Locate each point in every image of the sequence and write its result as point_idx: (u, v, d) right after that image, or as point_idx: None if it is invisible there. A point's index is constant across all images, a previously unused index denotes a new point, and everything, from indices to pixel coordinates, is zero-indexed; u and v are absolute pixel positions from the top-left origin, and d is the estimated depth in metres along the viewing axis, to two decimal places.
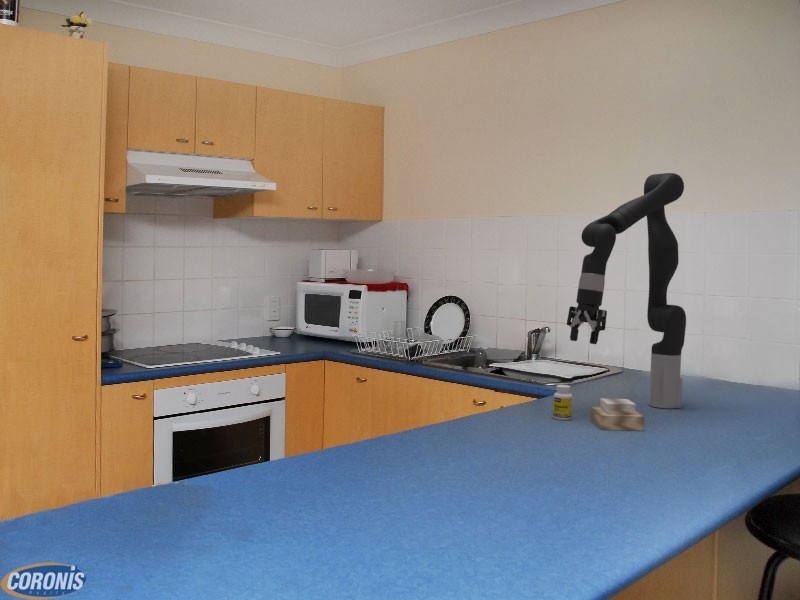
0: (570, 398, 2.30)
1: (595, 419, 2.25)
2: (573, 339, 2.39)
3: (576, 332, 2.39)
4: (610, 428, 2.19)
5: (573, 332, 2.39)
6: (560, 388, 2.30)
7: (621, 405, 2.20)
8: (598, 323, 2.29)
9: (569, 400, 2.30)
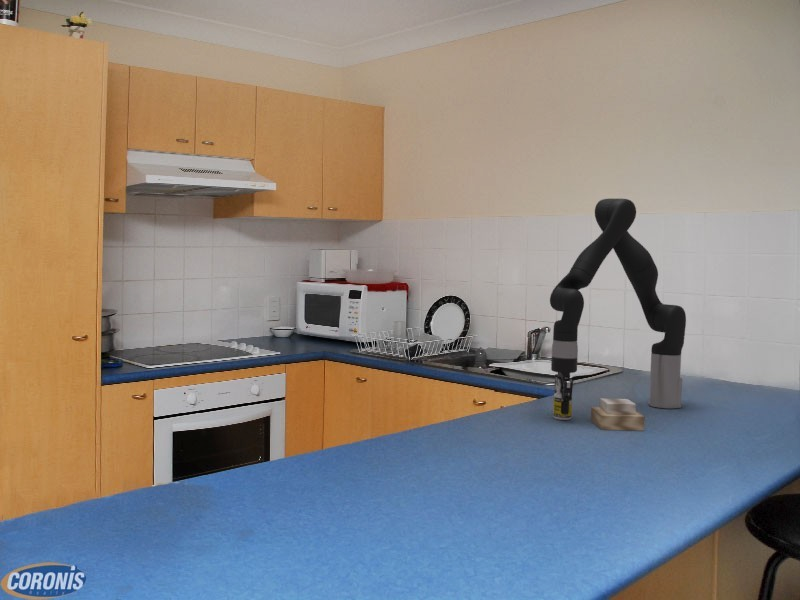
0: None
1: (595, 419, 2.25)
2: None
3: None
4: (610, 428, 2.19)
5: None
6: None
7: (621, 405, 2.20)
8: (563, 394, 2.26)
9: None
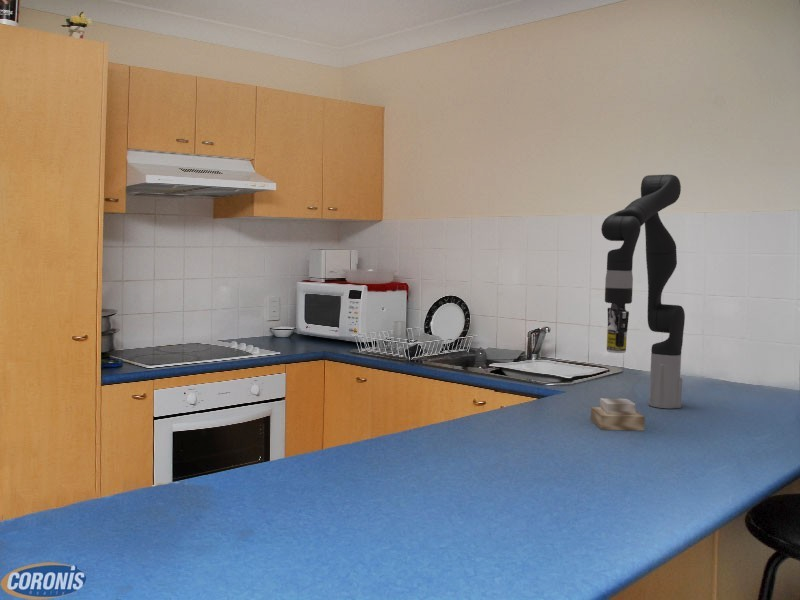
0: None
1: (595, 419, 2.25)
2: None
3: None
4: (610, 428, 2.19)
5: None
6: None
7: (621, 405, 2.20)
8: (618, 325, 2.18)
9: None
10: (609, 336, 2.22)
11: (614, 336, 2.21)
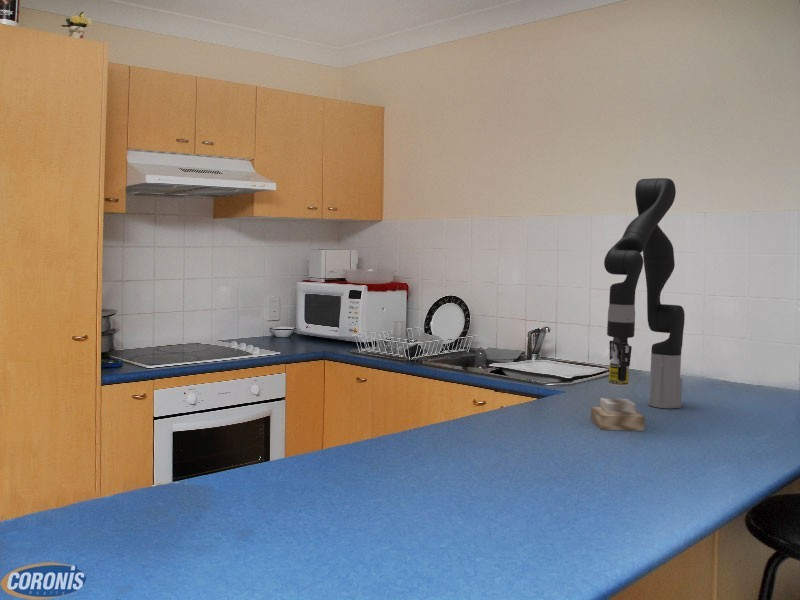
0: None
1: (595, 419, 2.25)
2: None
3: None
4: (610, 428, 2.19)
5: None
6: None
7: (621, 405, 2.20)
8: (621, 360, 2.18)
9: None
10: (611, 370, 2.22)
11: (616, 370, 2.21)
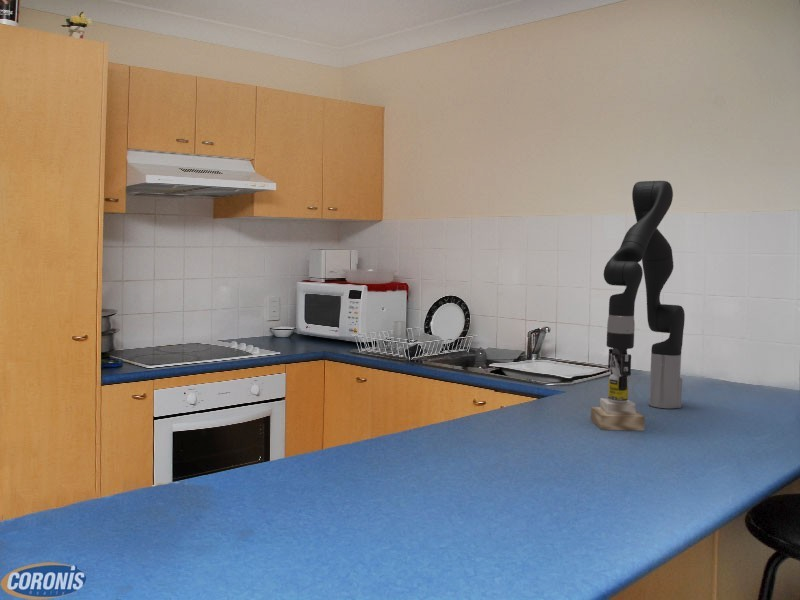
0: (627, 380, 2.22)
1: (595, 419, 2.25)
2: None
3: None
4: (610, 428, 2.19)
5: None
6: (616, 370, 2.22)
7: (621, 405, 2.20)
8: (621, 369, 2.17)
9: None
10: (611, 386, 2.23)
11: (616, 386, 2.21)
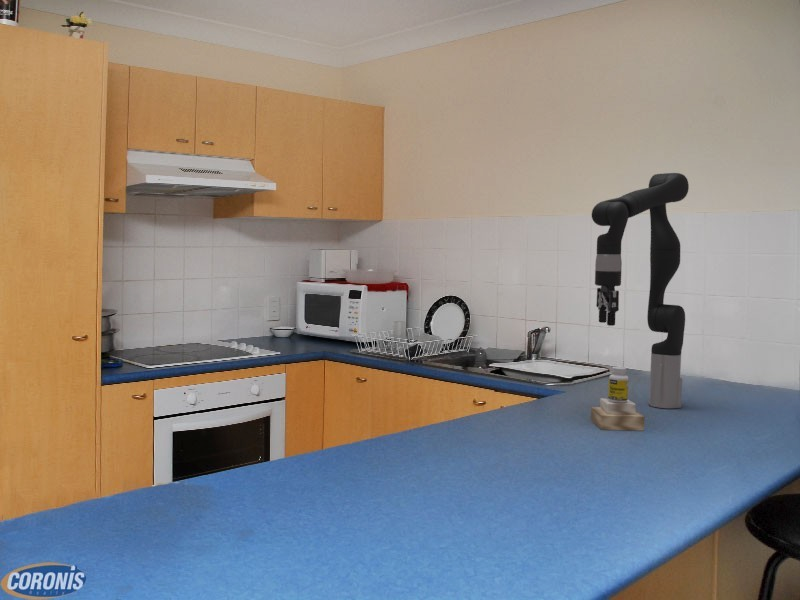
0: (627, 380, 2.22)
1: (595, 419, 2.25)
2: (601, 321, 2.37)
3: (604, 313, 2.36)
4: (610, 428, 2.19)
5: (600, 314, 2.36)
6: (616, 370, 2.22)
7: (621, 405, 2.20)
8: (609, 305, 2.26)
9: (626, 382, 2.21)
10: (611, 386, 2.23)
11: (616, 386, 2.21)
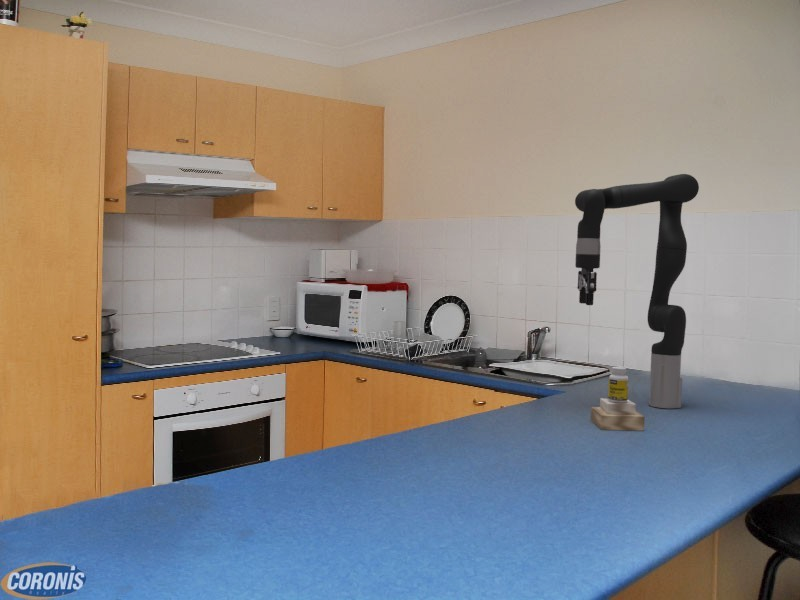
0: (627, 380, 2.22)
1: (595, 419, 2.25)
2: (581, 302, 2.51)
3: (584, 295, 2.51)
4: (610, 428, 2.19)
5: (580, 295, 2.51)
6: (616, 370, 2.22)
7: (621, 405, 2.20)
8: (588, 285, 2.40)
9: (626, 382, 2.21)
10: (611, 386, 2.23)
11: (616, 386, 2.21)
